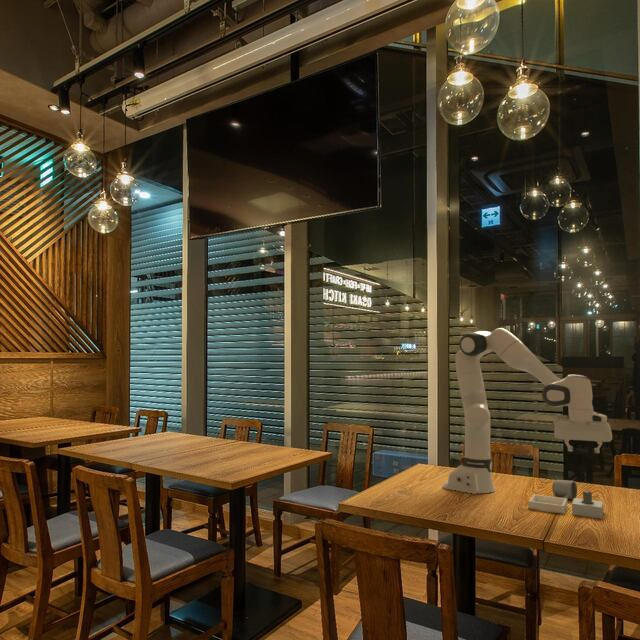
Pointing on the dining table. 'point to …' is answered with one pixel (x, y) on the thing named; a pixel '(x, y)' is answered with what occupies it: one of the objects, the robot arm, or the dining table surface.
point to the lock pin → (587, 497)
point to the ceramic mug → (564, 489)
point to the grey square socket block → (587, 508)
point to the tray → (548, 504)
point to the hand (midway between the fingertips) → (583, 452)
